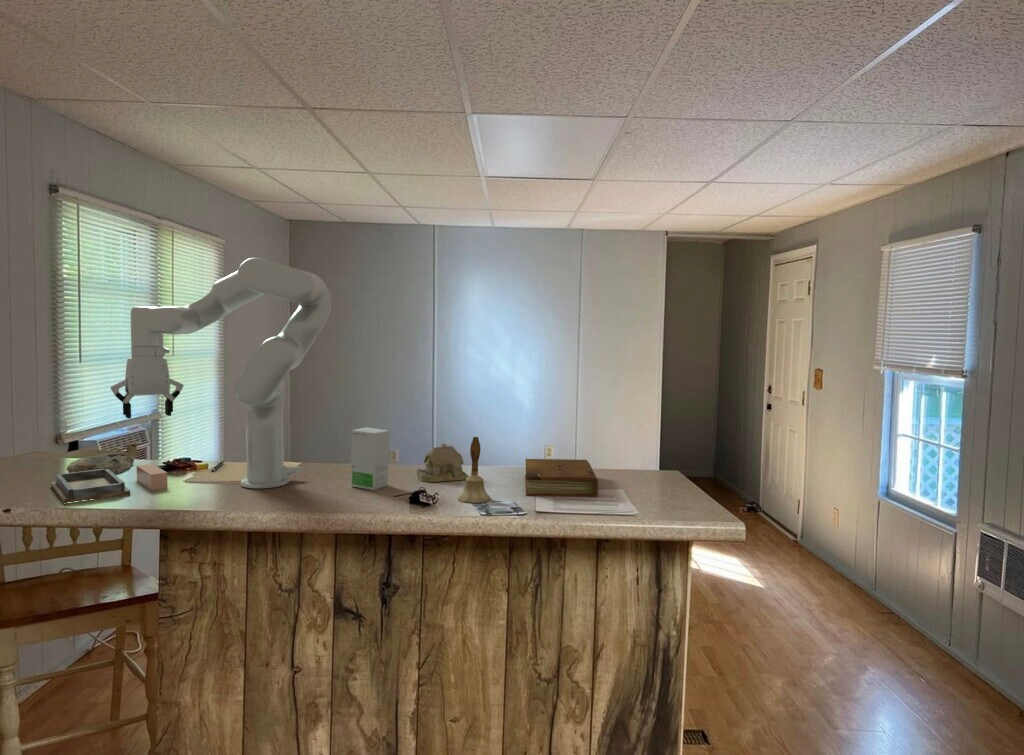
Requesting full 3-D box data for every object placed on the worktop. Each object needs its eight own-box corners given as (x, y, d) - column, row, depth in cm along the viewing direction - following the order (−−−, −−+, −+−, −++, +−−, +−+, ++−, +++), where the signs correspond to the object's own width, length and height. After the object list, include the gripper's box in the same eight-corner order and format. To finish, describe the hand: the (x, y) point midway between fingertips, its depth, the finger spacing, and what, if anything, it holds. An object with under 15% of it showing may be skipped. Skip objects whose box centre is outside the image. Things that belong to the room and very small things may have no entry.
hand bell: (471, 493, 175) (472, 433, 173) (496, 498, 170) (497, 436, 169) (451, 499, 168) (451, 437, 167) (476, 505, 163) (477, 441, 162)
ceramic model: (454, 472, 200) (455, 439, 199) (473, 479, 191) (474, 445, 190) (412, 477, 192) (412, 443, 191) (429, 485, 183) (429, 449, 182)
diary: (597, 499, 172) (598, 477, 172) (525, 498, 173) (526, 476, 172) (588, 478, 195) (589, 459, 195) (525, 477, 196) (525, 458, 195)
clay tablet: (103, 463, 207) (58, 477, 187) (103, 447, 206) (58, 459, 186) (148, 465, 206) (108, 479, 186) (148, 449, 206) (108, 461, 186)
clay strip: (152, 479, 186) (152, 463, 186) (167, 489, 176) (167, 472, 175) (137, 481, 183) (136, 465, 183) (150, 491, 173) (150, 474, 173)
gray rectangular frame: (112, 479, 185) (111, 467, 184) (130, 495, 168) (129, 482, 168) (51, 486, 175) (51, 474, 175) (64, 504, 159) (63, 491, 159)
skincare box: (350, 486, 180) (349, 430, 178) (365, 481, 185) (365, 426, 184) (375, 490, 176) (374, 432, 175) (390, 485, 182) (390, 429, 181)
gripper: (178, 351, 185) (179, 412, 186) (107, 352, 174) (108, 417, 175) (186, 353, 179) (187, 415, 181) (113, 353, 168) (114, 420, 169)
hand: (148, 416), depth 178 cm, fingers open, 9 cm apart
